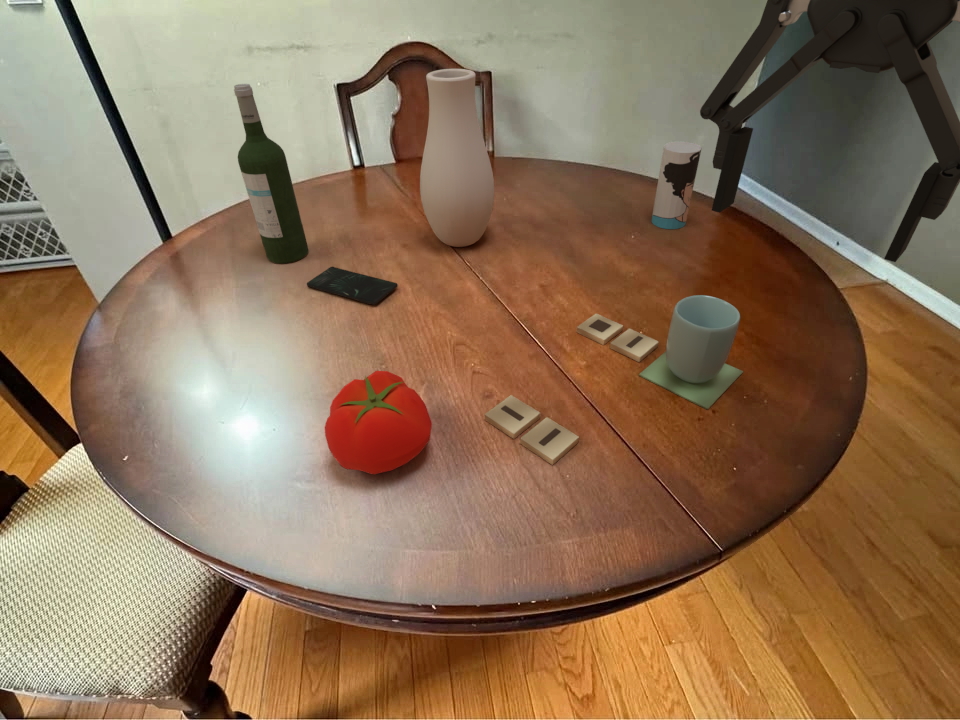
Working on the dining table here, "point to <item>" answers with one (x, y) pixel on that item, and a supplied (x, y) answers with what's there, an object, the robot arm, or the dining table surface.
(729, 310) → the cup
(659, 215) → the cup
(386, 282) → the smartphone
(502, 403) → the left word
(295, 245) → the wine bottle
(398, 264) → the dining table surface
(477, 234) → the vase
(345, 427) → the tomato
